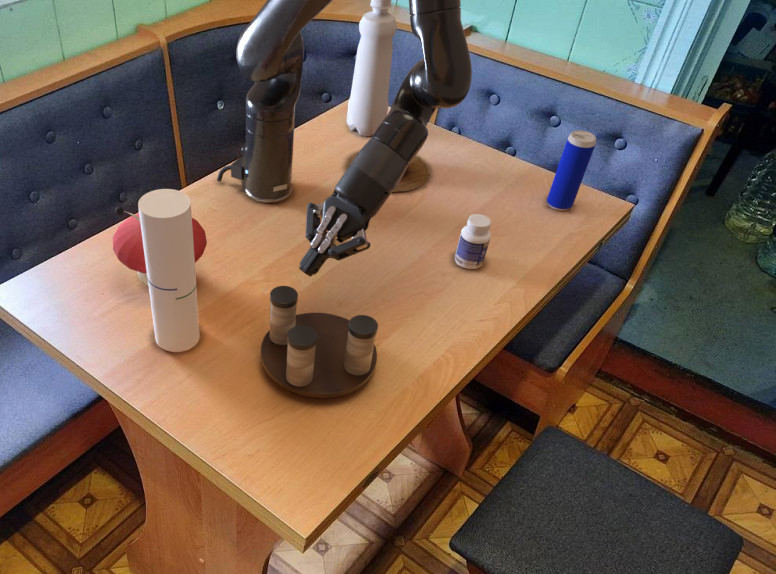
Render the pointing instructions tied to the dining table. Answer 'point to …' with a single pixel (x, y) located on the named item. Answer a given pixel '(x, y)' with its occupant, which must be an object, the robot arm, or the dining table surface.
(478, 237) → the pill bottle
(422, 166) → the ceramic pot
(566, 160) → the beverage can
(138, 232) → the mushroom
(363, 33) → the bottle
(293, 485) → the dining table surface
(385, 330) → the dining table surface
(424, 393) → the dining table surface
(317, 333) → the spice rack
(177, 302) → the cylindrical container
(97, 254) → the dining table surface
